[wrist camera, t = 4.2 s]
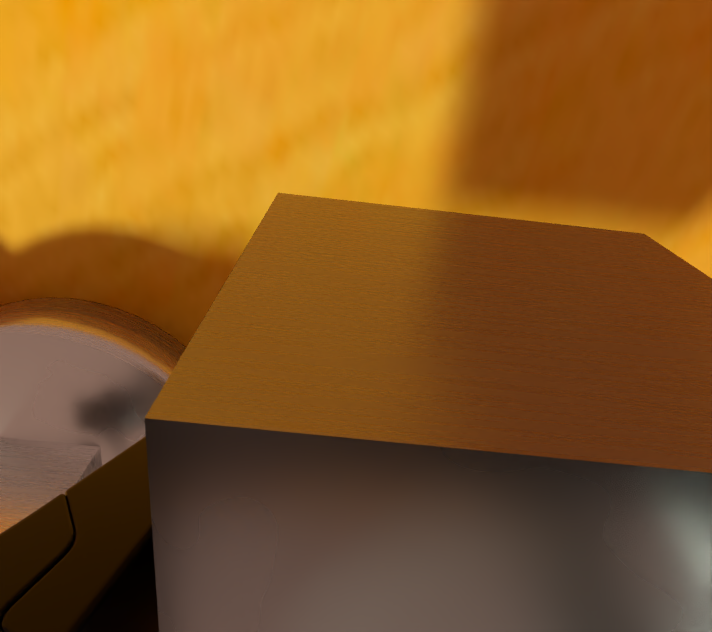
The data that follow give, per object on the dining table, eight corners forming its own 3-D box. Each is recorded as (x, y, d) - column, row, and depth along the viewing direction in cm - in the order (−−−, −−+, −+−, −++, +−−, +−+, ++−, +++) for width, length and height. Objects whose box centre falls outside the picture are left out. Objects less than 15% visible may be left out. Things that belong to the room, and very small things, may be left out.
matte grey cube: (644, 234, 9) (1054, 505, 4) (549, 506, 12) (707, 901, 6) (278, 192, 9) (145, 418, 3) (264, 480, 11) (175, 865, 6)
